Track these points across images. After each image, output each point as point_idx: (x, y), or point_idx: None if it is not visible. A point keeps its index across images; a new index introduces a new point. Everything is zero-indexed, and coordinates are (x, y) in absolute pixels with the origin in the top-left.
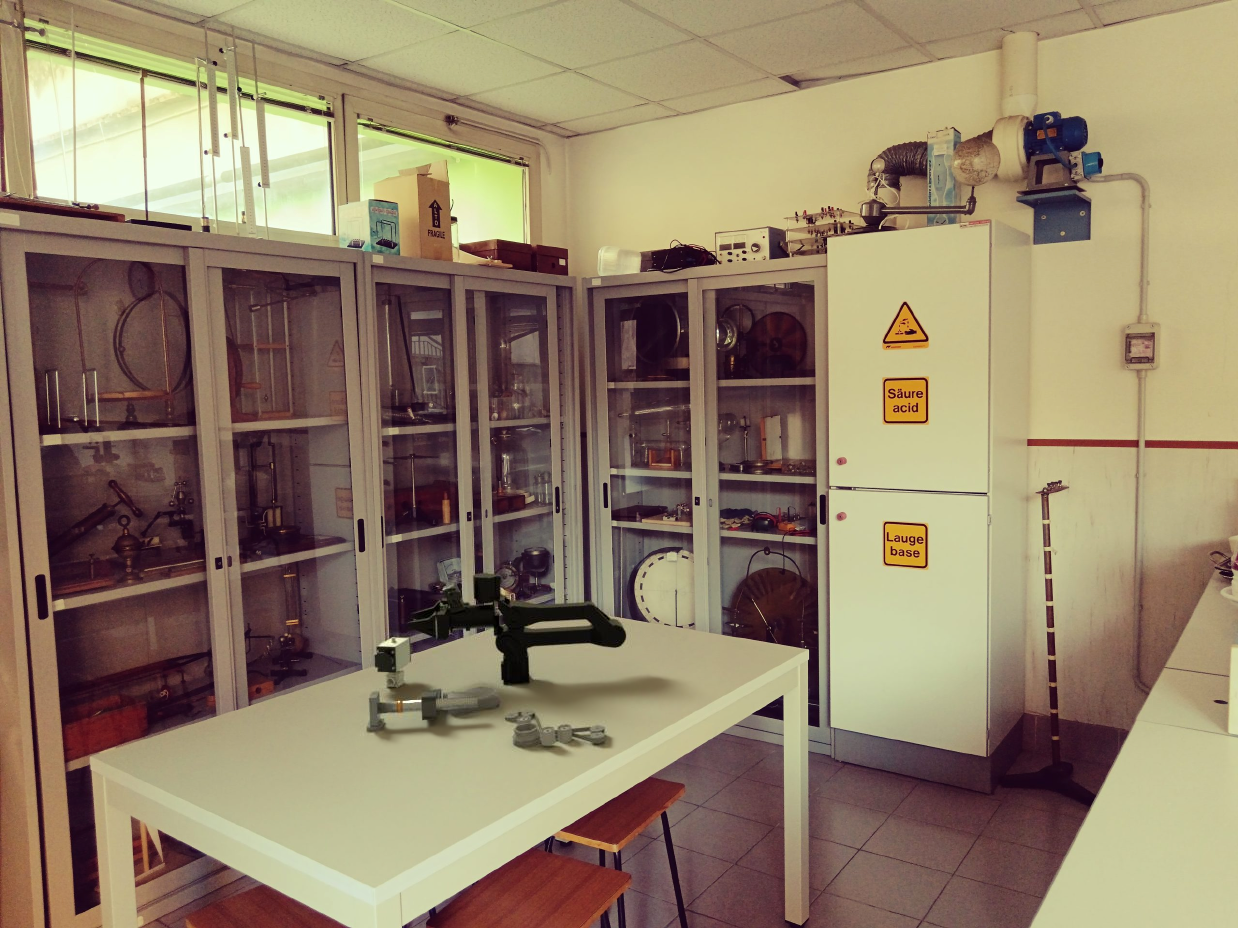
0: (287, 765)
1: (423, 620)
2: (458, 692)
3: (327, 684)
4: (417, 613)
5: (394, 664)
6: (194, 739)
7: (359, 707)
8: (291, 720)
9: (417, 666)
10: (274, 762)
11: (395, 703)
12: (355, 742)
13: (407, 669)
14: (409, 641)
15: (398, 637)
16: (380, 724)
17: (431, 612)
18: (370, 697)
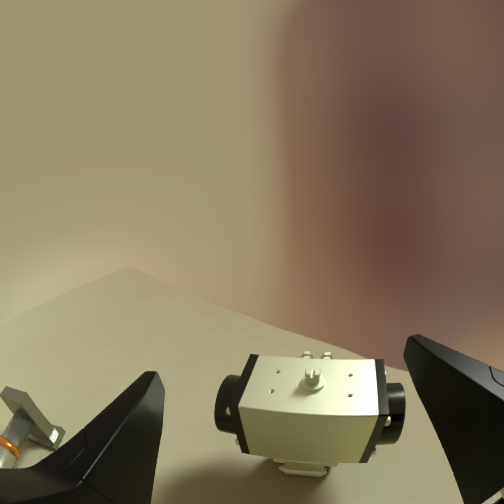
0: (13, 355)
1: (68, 444)
2: None
3: (313, 342)
4: (427, 361)
5: (238, 438)
6: (129, 292)
7: None
8: (138, 344)
9: None
10: (27, 347)
11: (2, 434)
12: None
13: None
14: (377, 424)
15: (381, 377)
16: (32, 437)
17: (489, 426)
18: (6, 388)
